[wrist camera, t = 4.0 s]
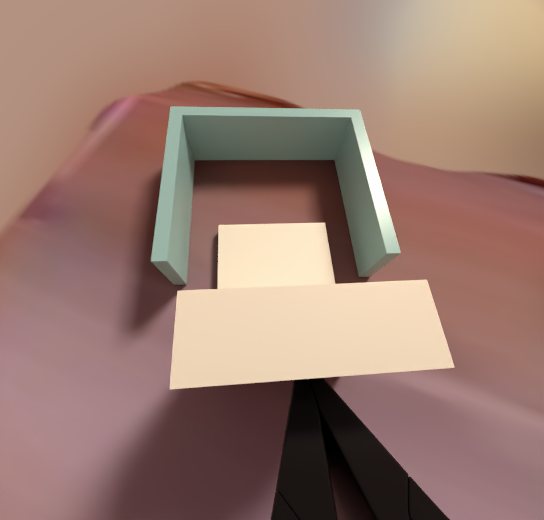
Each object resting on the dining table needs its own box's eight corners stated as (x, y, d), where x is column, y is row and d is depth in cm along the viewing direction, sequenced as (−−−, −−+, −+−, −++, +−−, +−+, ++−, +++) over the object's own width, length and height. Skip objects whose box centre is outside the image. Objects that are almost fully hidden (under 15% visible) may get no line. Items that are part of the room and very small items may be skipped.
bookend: (344, 366, 15) (454, 367, 7) (217, 375, 14) (169, 389, 6) (322, 228, 19) (376, 119, 10) (220, 230, 18) (191, 117, 10)
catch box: (369, 276, 17) (400, 252, 14) (174, 284, 16) (150, 261, 13) (342, 152, 22) (359, 109, 18) (185, 152, 21) (170, 106, 17)
